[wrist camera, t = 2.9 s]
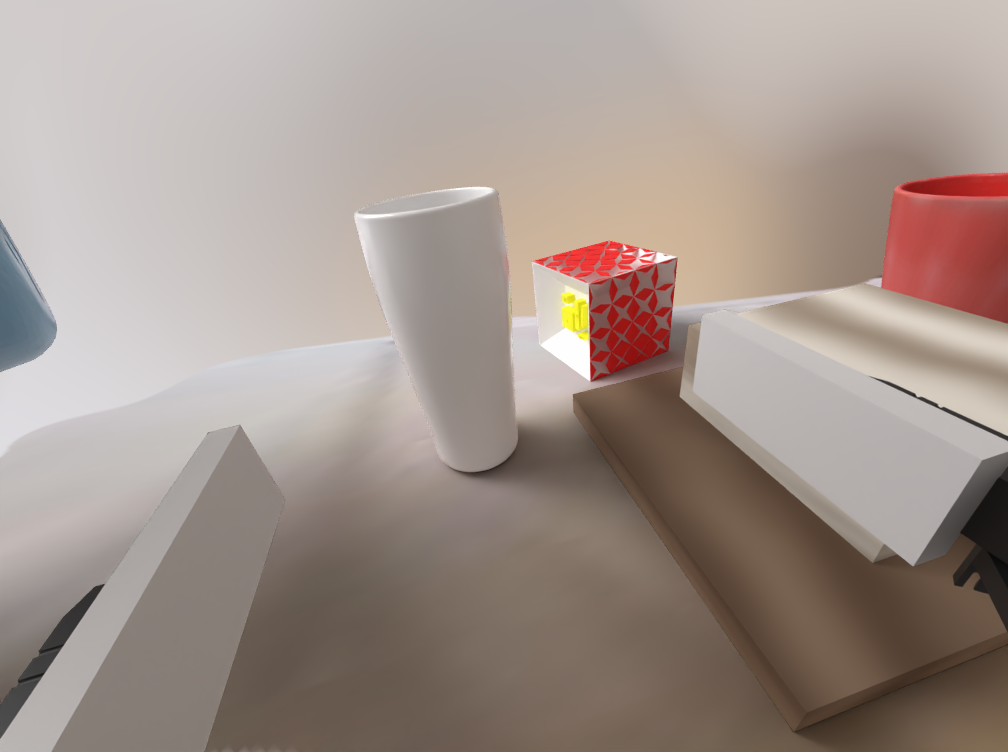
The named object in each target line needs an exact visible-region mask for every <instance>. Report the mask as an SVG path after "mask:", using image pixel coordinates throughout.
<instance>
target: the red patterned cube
mask: <svg viewBox="0 0 1008 752" xmlns="http://www.w3.org/2000/svg"><path fill="white" fill-rule="evenodd" d="M532 267H533V278H534V290H535V301H536V312H537V323H538V334H539V345H541V346H542V347H544V348H545V349H546V350H548V351H549V352H551V353H552V354H553V355H555V356H556V357H557V358H559V359H560V360H562V361H563V362H564V363H566V364H567V365H568V366H570V367H571V368H573V369H574V370H575V371H577V372H578V373H579V374H581V375H582V376H584V377H585V378H586V379H588V380H589V381H590V382H591V381H593V380H596V379H598V378H601V377H603V376H606V375H608V374H610V373H613V372H616V371H618V370H621V369H623V368H626V367H628V366H631V365H633V364H636V363H638V362H641V361H643V360H646V359H648V358H651V357H654V356H656V355H659V354H661V353H664V352H666V351H668V349H669V339H670V328H671V318H672V307H673V297H674V288H675V278H676V267H677V257H675V256H671V255H667V254H662V253H659V252H654V251H650V250H646V249H641V248H638V247H633V246H629V245H625V244H620V243H616V242H612V241H606V242H602V243H599V244H595V245H591V246H588V247H584V248H580V249H577V250H573V251H569V252H566V253H562V254H558V255H554V256H550V257H546V258H542V259H539V260H535V261H532Z"/></svg>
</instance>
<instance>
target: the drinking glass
mask: <svg viewBox="0 0 1008 752" xmlns="http://www.w3.org/2000/svg"><path fill="white" fill-rule="evenodd" d="M354 219H355V222H356V226H357V230H358V234H359V238H360V242H361V246H362V250H363V254H364V257H365V261H366V264H367V267H368V271H369V274H370V277H371V280H372V284H373V287H374V290H375V292H376V296H377V298H378V301H379V304H380V306H381V309H382V312H383V314H384V317H385V320H386V322H387V324H388V327H389V330H390V332H391V334H392V337H393V339H394V342H395V344H396V347H397V349H398V351H399V354H400V356H401V359H402V361H403V364H404V366H405V368H406V371H407V373H408V376H409V378H410V381H411V383H412V386H413V388H414V391H415V393H416V396H417V398H418V401H419V403H420V405H421V408H422V410H423V413H424V415H425V418H426V421H427V423H428V426H429V428H430V431H431V434H432V437H433V441H434V444H435V447H436V451H437V453H438V455H439V457H440V459H441V460H442V461H443V462H444V463H445V464H446V465H448V466H449V467H451V468H453V469H455V470H458V471H463V472H479V471H484V470H488V469H491V468H493V467H496V466H498V465H499V464H501V463H503V462H504V461H505V460H506V459H508V458H509V457H510V455H511V454H512V453H513V451H514V450H515V448H516V445H517V442H518V427H517V420H516V410H515V389H514V364H513V336H512V308H511V307H512V306H511V284H510V271H509V260H508V252H507V244H506V236H505V230H504V224H503V217H502V212H501V207H500V200H499V193H498V191H497V190H496V189H494V188H491V187H466V188H455V189H446V190H439V191H432V192H425V193H419V194H414V195H408V196H403V197H398V198H394V199H389V200H385V201H382V202H377V203H374V204H371V205H368V206H365V207H363V208H360V209H358V210H357V211H356V212H355V213H354Z"/></svg>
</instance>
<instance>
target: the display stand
mask: <svg viewBox="0 0 1008 752" xmlns="http://www.w3.org/2000/svg"><path fill="white" fill-rule="evenodd" d="M736 315H739V316H741V317H743V318H745V319H747V320H749V321H751V322H754V323H756V324H758V325H760V326H762V327H764V328H766V329H769V330H771V331H773V332H775V333H777V334H779V335H781V336H784V337H786V338H788V339H790V340H792V341H794V342H797V343H799V344H801V345H803V346H805V347H807V348H809V349H812V350H814V351H816V352H818V353H820V354H822V355H824V356H827V357H829V358H831V359H833V360H835V361H837V362H839V363H842V364H844V365H846V366H848V367H850V368H852V369H854V370H857V371H859V372H861V373H863V374H865V375H867V376H871V377H874V378H878V379H881V380H885V381H889V382H891V383H893V384H895V385H898V386H900V387H902V388H904V389H906V390H909V391H911V392H913V393H915V394H916V396H917V397H921V396H922V397H924V398H926V399H928V400H930V401H933V402H935V403H937V404H938V406H939V407H940V408H942V407H946V408H948V409H950V410H952V411H954V412H957V413H959V414H961V415H963V416H965V417H967V418H970V419H972V420H974V421H976V422H978V423H981V424H983V425H985V426H987V427H989V428H991V429H994V430H996V431H998V432H1000V433H1002V434H1005V435H1007V436H1008V324H1006V323H1003V322H999V321H996V320H992V319H989V318H985V317H982V316H978V315H975V314H971V313H968V312H964V311H961V310H957V309H953V308H950V307H946V306H943V305H939V304H936V303H932V302H929V301H925V300H922V299H918V298H915V297H911V296H908V295H904V294H900V293H897V292H893V291H890V290H886V289H883V288H879V287H876V286H872V285H869V284H860V285H856V286H852V287H848V288H843V289H839V290H835V291H831V292H826V293H822V294H818V295H814V296H809V297H805V298H801V299H797V300H793V301H788V302H784V303H780V304H776V305H771V306H767V307H763V308H759V309H754V310H750V311H746V312H742V313H737V314H736ZM700 329H701V322H699V323H695V324H691V325H689V326H688V334H687V342H686V350H685V358H684V366H683V367H680V368H676V369H672V370H668V371H664V372H660V373H656V374H652V375H648V376H644V377H640V378H636V379H632V380H628V381H624V382H620V383H616V384H612V385H608V386H604V387H600V388H596V389H592V390H588V391H584V392H581V393H577V394H573V408H574V413H575V415H576V416H577V418H578V419H579V420H580V422H581V423H582V425H583V426H584V428H585V429H586V431H587V432H588V434H589V435H590V436H591V438H592V439H593V441H594V442H595V444H596V445H597V447H598V448H599V450H600V451H601V452H602V454H603V455H604V457H605V458H606V460H607V461H608V463H609V464H610V466H611V467H612V468H613V470H614V471H615V473H616V474H617V476H618V477H619V479H620V480H621V482H622V483H623V484H624V486H625V487H626V489H627V490H628V492H629V493H630V495H631V496H632V498H633V499H634V500H635V502H636V503H637V505H638V506H639V508H640V509H641V511H642V512H643V514H644V515H645V516H646V518H647V519H648V521H649V522H650V524H651V525H652V527H653V528H654V530H655V531H656V532H657V534H658V535H659V537H660V538H661V540H662V541H663V543H664V544H665V546H666V547H667V548H668V550H669V551H670V553H671V554H672V556H673V557H674V559H675V560H676V561H677V563H678V564H679V566H680V567H681V569H682V570H683V572H684V573H685V575H686V576H687V577H688V579H689V580H690V582H691V583H692V585H693V586H694V588H695V589H696V591H697V592H698V593H699V595H700V596H701V598H702V599H703V601H704V602H705V604H706V605H707V607H708V608H709V609H710V611H711V612H712V614H713V615H714V617H715V618H716V620H717V621H718V623H719V624H720V625H721V627H722V628H723V630H724V631H725V633H726V634H727V636H728V637H729V639H730V640H731V641H732V643H733V644H734V646H735V647H736V649H737V650H738V652H739V653H740V655H741V656H742V657H743V659H744V660H745V662H746V663H747V665H748V666H749V668H750V669H751V671H752V672H753V673H754V675H755V676H756V678H757V679H758V681H759V682H760V684H761V685H762V687H763V688H764V689H765V691H766V692H767V694H768V695H769V697H770V698H771V700H772V701H773V703H774V704H775V705H776V707H777V708H778V710H779V711H780V713H781V714H782V716H783V717H784V719H785V720H786V721H787V723H788V724H789V726H790V727H791V729H792V730H793V732H795V731H797V730H800V729H802V728H805V727H807V726H810V725H812V724H814V723H817V722H819V721H822V720H824V719H827V718H829V717H832V716H834V715H836V714H839V713H841V712H844V711H846V710H849V709H851V708H853V707H856V706H858V705H861V704H863V703H866V702H868V701H871V700H873V699H875V698H878V697H880V696H883V695H885V694H888V693H890V692H892V691H895V690H897V689H900V688H902V687H905V686H907V685H910V684H912V683H914V682H917V681H919V680H922V679H924V678H927V677H929V676H931V675H934V674H936V673H939V672H941V671H944V670H946V669H948V668H951V667H953V666H956V665H958V664H961V663H963V662H966V661H968V660H970V659H973V658H975V657H978V656H980V655H983V654H985V653H987V652H990V651H992V650H995V649H997V648H1000V647H1002V646H1005V645H1007V644H1008V632H1007V630H1006V628H1005V626H1004V624H1003V622H1002V620H1001V618H1000V616H999V614H998V612H997V610H996V608H995V606H994V604H993V602H992V600H991V598H990V596H989V594H986V593H982V592H978V591H975V590H974V589H973V588H974V586H975V584H976V582H977V581H978V580H979V578H980V576H979V574H978V573H973V574H972V575H971V577H970V578H969V579H968V580H967V582H966V583H965V584H964V585H963V587H959V586H955V585H954V581H953V574H954V573H955V572H956V570H957V569H958V568H959V566H960V565H961V564H962V562H963V561H964V560H965V558H966V557H967V556H968V554H969V553H970V552H971V550H972V549H973V548H974V546H975V545H976V543H975V542H973V541H972V540H970V539H969V538H967V537H966V536H964V535H963V534H960V535H959V537H958V538H957V539H956V541H955V542H954V544H953V545H952V547H951V548H950V549H949V551H948V552H947V554H946V555H944V556H941V557H938V558H935V559H933V560H930V561H927V562H924V563H921V564H919V565H916V566H912V565H911V564H909V563H908V562H907V561H906V560H904V559H903V558H902V557H901V556H899V555H898V554H897V553H896V552H894V551H893V550H892V549H891V548H889V547H888V546H887V545H885V544H884V543H883V542H882V541H880V540H879V539H878V538H877V537H875V536H874V535H873V534H872V533H870V532H869V531H868V530H867V529H865V528H864V527H863V526H862V525H860V524H859V523H858V522H857V521H855V520H854V519H853V518H851V517H850V516H849V515H848V514H846V513H845V512H844V511H843V510H841V509H840V508H839V507H838V506H836V505H835V504H834V503H833V502H831V501H830V500H829V499H828V498H826V497H825V496H824V495H823V494H821V493H820V492H819V491H817V490H816V489H815V488H814V487H812V486H811V485H810V484H809V483H807V482H806V481H805V480H804V479H802V478H801V477H800V476H799V475H797V474H796V473H795V472H794V471H792V470H791V469H790V468H789V467H787V466H786V465H785V464H783V463H782V462H781V461H780V460H778V459H777V458H776V457H775V456H773V455H772V454H771V453H770V452H768V451H767V450H766V449H765V448H763V447H762V446H761V445H760V444H758V443H757V442H756V441H755V440H753V439H752V438H751V437H749V436H748V435H747V434H746V433H744V432H743V431H742V430H741V429H739V428H738V427H737V426H736V425H734V424H733V423H732V422H731V421H729V420H728V419H727V418H726V417H724V416H723V415H722V414H721V413H719V412H718V411H717V410H715V409H714V408H713V407H712V406H710V405H709V404H708V403H707V402H705V401H704V400H703V399H702V398H700V397H699V396H698V395H697V394H695V393H694V392H693V383H694V375H695V368H696V360H697V352H698V344H699V337H700Z"/></svg>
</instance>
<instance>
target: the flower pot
mask: <svg viewBox="0 0 1008 752" xmlns="http://www.w3.org/2000/svg"><path fill="white" fill-rule="evenodd" d="M881 288H883V289H886V290H890V291H893V292H897V293H900V294H904V295H908V296H911V297H915V298H918V299H922V300H925V301H929V302H932V303H936V304H939V305H943V306H946V307H950V308H953V309H957V310H961V311H964V312H968V313H971V314H975V315H978V316H982V317H985V318H989V319H992V320H996V321H999V322H1003V323H1006V324H1007V323H1008V173H987V174H968V175H954V176H946V177H936V178H929V179H922V180H917V181H912V182H907V183H904V184H901V185H899V186H897V187H896V189H895V190H894V193H893V199H892V205H891V212H890V219H889V228H888V236H887V242H886V250H885V258H884V267H883V276H882V286H881Z"/></svg>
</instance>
